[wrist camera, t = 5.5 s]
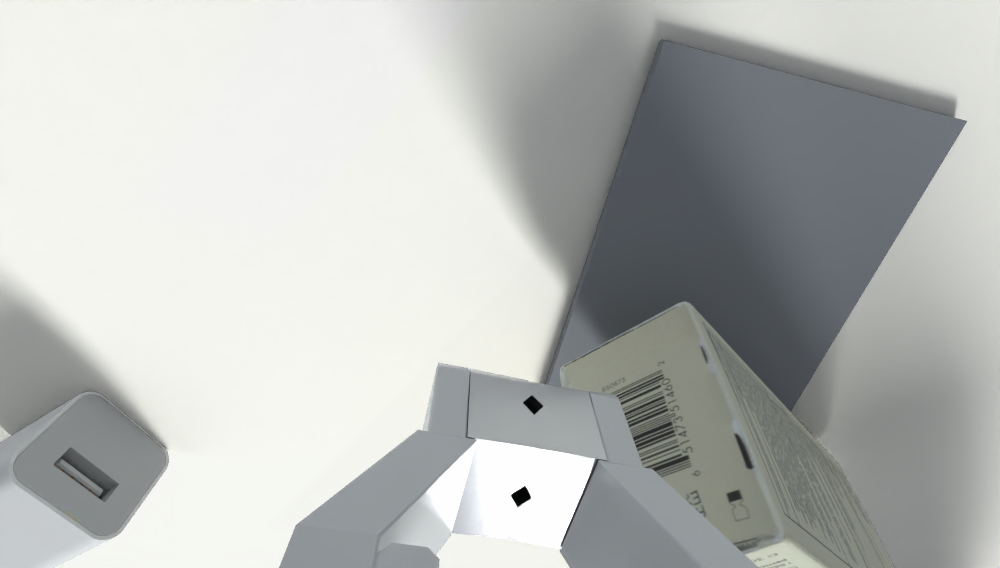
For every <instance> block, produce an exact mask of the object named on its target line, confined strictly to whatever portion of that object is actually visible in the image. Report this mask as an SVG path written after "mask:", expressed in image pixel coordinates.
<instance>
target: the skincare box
mask: <svg viewBox="0 0 1000 568" xmlns="http://www.w3.org/2000/svg"><path fill="white" fill-rule="evenodd" d="M560 379H561V386H562V387H565V388H570V389H576V390H582V391H586V390H587V391H594V392H600V393H607V394H614V395H615V396H617V397H618V398H619V401H620V403H621V406H622V409H623V412H624V415H625V417H626V420H627V423H628V426H629V429H630V431H631V434H632V437H633V440H634V443H635V445H636V448H637V451H638V454H639V457H640V459H641V462H642V465H643V468H648V469H653V470H654V471H655V472H656V473H657V474H658V475H659V476H660V477H661V478H663V479H664V480H665V481H666V482H667V483H668V484H669V485H670V486H671V487H672V488H673V489H674V490H675V491H677V492H678V493H679V494H680V495H681V496H682V497H683V498H684V499H685V500H686V501H687V502H688V503H690V504H691V505H692V506H693V507H694V508H695V509H696V510H697V511H698V512H699V513H700V514H701V515H702V516H704V517H705V518H706V519H707V520H708V521H709V522H710V523H711V524H712V525H713V526H714V527H715V528H716V529H718V530H719V531H720V532H721V533H722V534H723V535H724V536H725V537H726V538H727V539H728V540H729V541H731V542H732V543H733V544H734V545H735V546H736V547H737V548H738V549H739V550H740V551H741V552H742V553H743V554H745V555H746V556H747V557H748V558H749V559H750V560H751V561H752V562H753V563H754V564H755V565H756V566H757V567H759V568H895V567H894V565H893V563H892V561H891V559H890V557H889V555H888V553H887V551H886V549H885V547H884V546H883V544H882V542H881V540H880V538H879V536H878V534H877V532H876V530H875V528H874V527H873V525H872V523H871V521H870V519H869V518H868V516H867V514H866V512H865V510H864V509H863V507H862V505H861V503H860V501H859V500H858V498H857V496H856V494H855V492H854V490H853V489H852V487H851V485H850V483H849V482H848V480H847V478H846V476H845V475H844V473H843V471H842V469H841V467H840V466H839V464H838V463H837V462H836V461H835V460H834V458H833V457H832V456H831V455H830V454H829V453H828V452H827V451H826V450H825V449H824V448H823V447H822V445H821V444H820V443H819V442H818V441H817V440H816V439H815V438H814V437H813V436H812V435H811V434H810V433H809V432H808V430H807V429H806V428H805V427H804V426H803V425H802V424H801V423H800V422H799V421H798V420H797V419H796V417H795V416H794V415H793V414H792V413H791V412H790V411H789V410H788V409H787V408H786V406H785V405H784V404H783V403H782V402H781V401H780V400H779V399H778V398H777V397H776V396H775V395H774V393H773V392H772V391H771V390H770V389H769V388H768V387H767V386H766V385H765V384H764V383H763V382H762V380H761V379H760V378H759V377H758V376H757V375H756V374H755V373H754V372H753V371H752V370H751V369H750V367H749V366H748V365H747V364H746V363H745V362H744V361H743V360H742V359H741V358H740V357H739V356H738V355H737V353H736V352H735V351H734V350H733V349H732V348H731V347H730V346H729V345H728V344H727V343H726V342H725V340H724V339H723V338H722V337H721V336H720V335H719V334H718V333H717V332H716V331H715V330H714V328H713V327H712V326H711V325H710V324H709V323H708V322H707V321H706V320H705V319H704V318H703V317H702V315H701V314H700V313H699V312H698V311H697V310H696V309H695V308H694V307H693V306H692V305H691V304H690V303H688V302H686V301H685V302H681V303H678V304H676V305H674V306H672V307H671V308H669V309H667V310H665V311H663V312H661V313H659V314H657V315H656V316H654V317H652V318H650V319H648V320H646V321H644V322H642V323H641V324H639V325H637V326H635V327H633V328H631V329H629V330H627V331H626V332H624V333H622V334H620V335H618V336H616V337H614V338H612V339H611V340H609V341H607V342H605V343H603V344H601V345H600V346H598V347H596V348H594V349H592V350H590V351H588V352H587V353H585V354H583V355H581V356H579V357H578V358H576V359H574V360H573V361H570V362H568V363H566V364H565V365H563V366H562V367H561V368H560Z"/></svg>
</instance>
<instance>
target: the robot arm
mask: <svg viewBox="0 0 1000 568" xmlns="http://www.w3.org/2000/svg"><path fill="white" fill-rule="evenodd" d="M451 533H458V534H467V535H476V536H484V537H493V538H502V539H508V540H514V541H520V542H526V543H531V544H537V545H543V546H548V547H554V548H560V549H561V550H560V552H561V554H562V556H563V557H564V559H565V560H566V562H567V564H568V565H569V567H570V568H759V567H757V566H756V565H755V564H754V563H753V562H752V561H751V560H750V559H749V558H748V557H747V556H746V555H745V554H743V553H742V552H741V551H740V550H739V549H738V548H737V547H736V546H735V545H734V544H733V543H732V542H731V541H729V540H728V539H727V538H726V537H725V536H724V535H723V534H722V533H721V532H720V531H719V530H718V529H716V528H715V527H714V526H713V525H712V524H711V523H710V522H709V521H708V520H707V519H706V518H705V517H704V516H702V515H701V514H700V513H699V512H698V511H697V510H696V509H695V508H694V507H693V506H692V505H691V504H690V503H688V502H687V501H686V500H685V499H684V498H683V497H682V496H681V495H680V494H679V493H678V492H677V491H675V490H674V489H673V488H672V487H671V486H670V485H669V484H668V483H667V482H666V481H665V480H664V479H663V478H661V477H660V476H659V475H658V474H657V473H656V472H655V471H654V470H653V469H648V468H643V465H642V462H641V459H640V457H639V454H638V451H637V448H636V445H635V443H634V440H633V437H632V434H631V431H630V429H629V426H628V423H627V420H626V417H625V415H624V412H623V409H622V406H621V403H620V401H619V398H618V397H617V396H615V395H614V394H607V393H600V392H594V391H587V390H586V391H582V390H576V389H570V388H565V387H559V386H553V385H547V384H541V383H535V382H529V381H528V380H523V379H518V378H513V377H508V376H504V375H499V374H494V373H489V372H484V371H479V370H474V369H468V368H464V367H459V366H454V365H448V364H443V363H438V366H437V369H436V373H435V377H434V382H433V386H432V391H431V395H430V399H429V404H428V408H427V413H426V417H425V422H424V426H423V431H422V430H417V431H416V432H414V433H413V434H412V435H411V436H409V437H408V438H407V439H405V440H404V441H403V442H402V443H400V444H399V445H398V446H397V447H395V448H394V449H393V450H391V451H390V452H389V453H388V454H386V455H385V456H384V457H382V458H381V459H380V460H379V461H377V462H376V463H375V464H374V465H372V466H371V467H370V468H368V469H367V470H366V471H365V472H363V473H362V474H361V475H359V476H358V477H357V478H356V479H354V480H353V481H352V482H351V483H349V484H348V485H347V486H345V487H344V488H343V489H342V490H340V491H339V492H338V493H336V494H335V495H334V496H333V497H331V498H330V499H329V500H328V501H326V502H325V503H324V504H322V505H321V506H320V507H319V508H317V509H316V510H315V511H313V512H312V513H311V514H310V515H308V516H307V517H306V518H304V519H303V520H302V521H301V522H299V523H298V524H297V525H296V526H295V529H294V531H293V534H292V537H291V539H290V542H289V544H288V547H287V549H286V552H285V554H284V557H283V559H282V562H281V565H280V567H279V568H439V558H438V557H437V556H436V554H437V553H438V552H439V550H440V549H441V548H442V546H443V545H444V544H445V542H446V541H447V540H448V539H449V537H450V536H451Z"/></svg>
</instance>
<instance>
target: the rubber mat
mask: <svg viewBox="0 0 1000 568" xmlns="http://www.w3.org/2000/svg"><path fill="white" fill-rule="evenodd" d="M966 122H967V121H965V120H961V119H957V118H954V117H950V116H946V115H942V114H939V113H935V112H931V111H927V110H924V109H920V108H916V107H912V106H909V105H905V104H901V103H898V102H894V101H890V100H886V99H883V98H879V97H875V96H871V95H868V94H864V93H860V92H856V91H853V90H849V89H845V88H842V87H838V86H834V85H830V84H827V83H823V82H819V81H815V80H812V79H808V78H804V77H800V76H797V75H793V74H789V73H786V72H782V71H778V70H774V69H771V68H767V67H763V66H759V65H756V64H752V63H748V62H744V61H741V60H737V59H733V58H730V57H726V56H722V55H718V54H715V53H711V52H707V51H703V50H700V49H696V48H692V47H689V46H685V45H681V44H677V43H674V42H670V41H666V40H660V43H659V46H658V49H657V52H656V55H655V58H654V60H653V63H652V66H651V69H650V72H649V75H648V78H647V81H646V84H645V87H644V90H643V93H642V96H641V99H640V102H639V105H638V108H637V111H636V114H635V117H634V120H633V123H632V126H631V129H630V132H629V135H628V138H627V141H626V144H625V147H624V150H623V153H622V156H621V159H620V162H619V165H618V168H617V171H616V174H615V177H614V180H613V183H612V186H611V189H610V192H609V195H608V198H607V201H606V204H605V207H604V210H603V213H602V216H601V219H600V221H599V224H598V227H597V230H596V233H595V236H594V239H593V242H592V245H591V248H590V251H589V254H588V257H587V260H586V263H585V266H584V269H583V272H582V275H581V278H580V281H579V284H578V287H577V290H576V293H575V296H574V299H573V302H572V305H571V308H570V311H569V314H568V317H567V320H566V323H565V326H564V329H563V332H562V335H561V338H560V341H559V344H558V347H557V350H556V353H555V356H554V359H553V362H552V365H551V368H550V371H549V374H548V377H547V380H546V382H545V384H547V385H553V386H559V387H562V386H561V379H560V368H561V367H562V366H563V365H565V364H566V363H568V362H570V361H573V360H574V359H576V358H578V357H579V356H581V355H583V354H585V353H587V352H588V351H590V350H592V349H594V348H596V347H598V346H600V345H601V344H603V343H605V342H607V341H609V340H611V339H612V338H614V337H616V336H618V335H620V334H622V333H624V332H626V331H627V330H629V329H631V328H633V327H635V326H637V325H639V324H641V323H642V322H644V321H646V320H648V319H650V318H652V317H654V316H656V315H657V314H659V313H661V312H663V311H665V310H667V309H669V308H671V307H672V306H674V305H676V304H678V303H681V302H685V301H686V302H688V303H690V304H691V305H692V306H693V307H694V308H695V309H696V310H697V311H698V312H699V313H700V314H701V315H702V317H703V318H704V319H705V320H706V321H707V322H708V323H709V324H710V325H711V326H712V327H713V328H714V330H715V331H716V332H717V333H718V334H719V335H720V336H721V337H722V338H723V339H724V340H725V342H726V343H727V344H728V345H729V346H730V347H731V348H732V349H733V350H734V351H735V352H736V353H737V355H738V356H739V357H740V358H741V359H742V360H743V361H744V362H745V363H746V364H747V365H748V366H749V367H750V369H751V370H752V371H753V372H754V373H755V374H756V375H757V376H758V377H759V378H760V379H761V380H762V382H763V383H764V384H765V385H766V386H767V387H768V388H769V389H770V390H771V391H772V392H773V393H774V395H775V396H776V397H777V398H778V399H779V400H780V401H781V402H782V403H783V404H784V405H785V406H786V408H787V409H788V410H789V411H790V412H791V410H792V408H793V407H794V405H795V403H796V402H797V400H798V398H799V397H800V395H801V394H802V392H803V390H804V389H805V387H806V385H807V384H808V382H809V380H810V379H811V377H812V375H813V374H814V372H815V371H816V369H817V367H818V366H819V364H820V362H821V361H822V359H823V357H824V356H825V354H826V352H827V351H828V349H829V348H830V346H831V344H832V343H833V341H834V339H835V338H836V336H837V334H838V333H839V331H840V329H841V328H842V326H843V325H844V323H845V321H846V320H847V318H848V316H849V315H850V313H851V311H852V310H853V308H854V306H855V305H856V303H857V302H858V300H859V298H860V297H861V295H862V293H863V292H864V290H865V288H866V287H867V285H868V283H869V282H870V280H871V279H872V277H873V275H874V274H875V272H876V270H877V269H878V267H879V265H880V264H881V262H882V260H883V259H884V257H885V256H886V254H887V252H888V251H889V249H890V247H891V246H892V244H893V242H894V241H895V239H896V237H897V236H898V234H899V232H900V231H901V229H902V228H903V226H904V224H905V223H906V221H907V219H908V218H909V216H910V214H911V213H912V211H913V209H914V208H915V206H916V205H917V203H918V201H919V200H920V198H921V196H922V195H923V193H924V191H925V190H926V188H927V186H928V185H929V183H930V182H931V180H932V178H933V177H934V175H935V173H936V172H937V170H938V168H939V167H940V165H941V163H942V162H943V160H944V159H945V157H946V155H947V154H948V152H949V150H950V149H951V147H952V145H953V144H954V142H955V140H956V139H957V137H958V136H959V134H960V132H961V131H962V129H963V127H964V126H965V124H966Z"/></svg>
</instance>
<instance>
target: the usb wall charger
mask: <svg viewBox="0 0 1000 568" xmlns="http://www.w3.org/2000/svg"><path fill="white" fill-rule="evenodd" d="M168 463H169V456H168V452H167V450H166V448H165V447H164V446H163V445H161V444H160V443H159V442H158V441H157V440H155V439H154V438H153V437H152V436H151V435H149V434H148V433H147V432H146V431H145V430H143V429H142V428H141V427H140V426H139V425H138V424H136V423H135V422H134V421H133V420H132V419H130V418H129V417H128V416H127V415H126V414H124V413H123V412H122V411H121V410H120V409H118V408H117V407H116V406H115V405H114V404H112V403H111V402H110V401H109V400H108V399H107V398H105V397H104V396H103V395H102V394H100V393H97V392H84V393H81V394H79V395H77V396H76V397H74V398H72V399H71V400H69V401H67V402H66V403H64V404H63V405H61V406H59V407H58V408H56V409H54V410H53V411H51V412H49V413H48V414H46V415H44V416H43V417H41V418H39V419H38V420H36V421H35V422H33V423H31V424H30V425H28V426H26V427H25V428H23V429H21V430H20V431H18V432H16V433H15V434H13V435H11V436H10V437H8V438H7V439H5V440H3V441H2V442H0V568H55V567H57V566H59V565H61V564H63V563H65V562H67V561H69V560H71V559H73V558H75V557H77V556H79V555H80V554H82V553H84V552H86V551H88V550H90V549H92V548H94V547H96V546H98V545H100V544H102V543H104V542H106V541H108V540H110V539H112V538H114V537H115V536H117V535H118V534H120V533H121V532H122V531H123V529H124V528H125V526H126V525H127V524H128V522H129V521H130V519H131V518H132V517H133V515H134V514H135V512H136V511H137V510H138V508H139V507H140V505H141V504H142V503H143V501H144V500H145V498H146V497H147V495H148V494H149V493H150V491H151V490H152V488H153V487H154V486H155V484H156V483H157V481H158V480H159V479H160V477H161V476H162V474H163V473H164V472H165V470H166V468H167V466H168Z"/></svg>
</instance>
